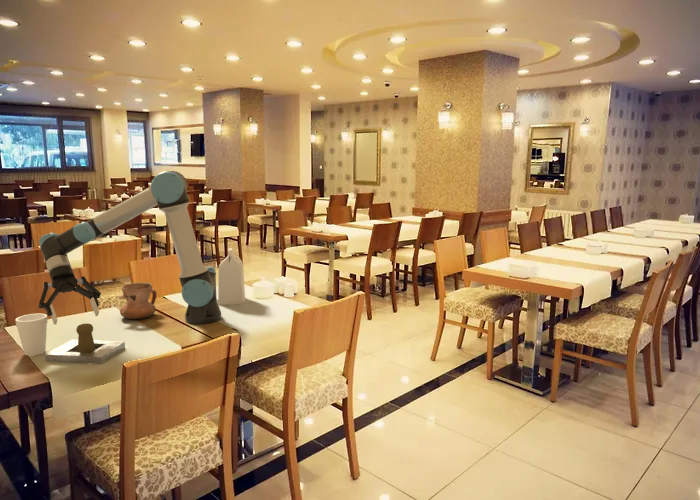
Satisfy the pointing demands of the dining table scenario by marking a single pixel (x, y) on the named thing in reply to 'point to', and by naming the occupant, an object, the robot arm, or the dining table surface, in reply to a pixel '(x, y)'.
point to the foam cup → (32, 333)
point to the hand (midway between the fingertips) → (77, 318)
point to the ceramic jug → (138, 300)
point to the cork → (85, 338)
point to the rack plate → (71, 355)
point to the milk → (231, 280)
